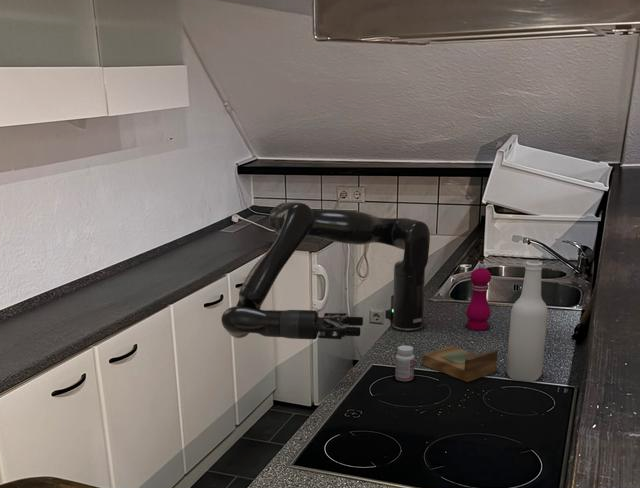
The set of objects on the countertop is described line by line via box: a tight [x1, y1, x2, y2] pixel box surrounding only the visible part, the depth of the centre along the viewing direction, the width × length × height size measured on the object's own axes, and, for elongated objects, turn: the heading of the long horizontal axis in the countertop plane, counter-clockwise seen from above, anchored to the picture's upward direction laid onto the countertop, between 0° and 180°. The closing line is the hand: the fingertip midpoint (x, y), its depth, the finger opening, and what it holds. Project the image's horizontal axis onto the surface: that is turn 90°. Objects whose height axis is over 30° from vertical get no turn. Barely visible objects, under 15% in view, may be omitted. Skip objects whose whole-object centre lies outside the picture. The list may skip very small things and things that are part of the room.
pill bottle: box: [394, 345, 415, 382], centre depth 197 cm, size 5×5×8 cm
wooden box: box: [422, 345, 499, 383], centre depth 202 cm, size 16×11×6 cm
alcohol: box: [505, 260, 549, 382], centre depth 192 cm, size 9×9×30 cm
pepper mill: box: [465, 263, 492, 331], centre depth 231 cm, size 7×7×20 cm
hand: (361, 326), depth 195 cm, fingers open, 8 cm apart
